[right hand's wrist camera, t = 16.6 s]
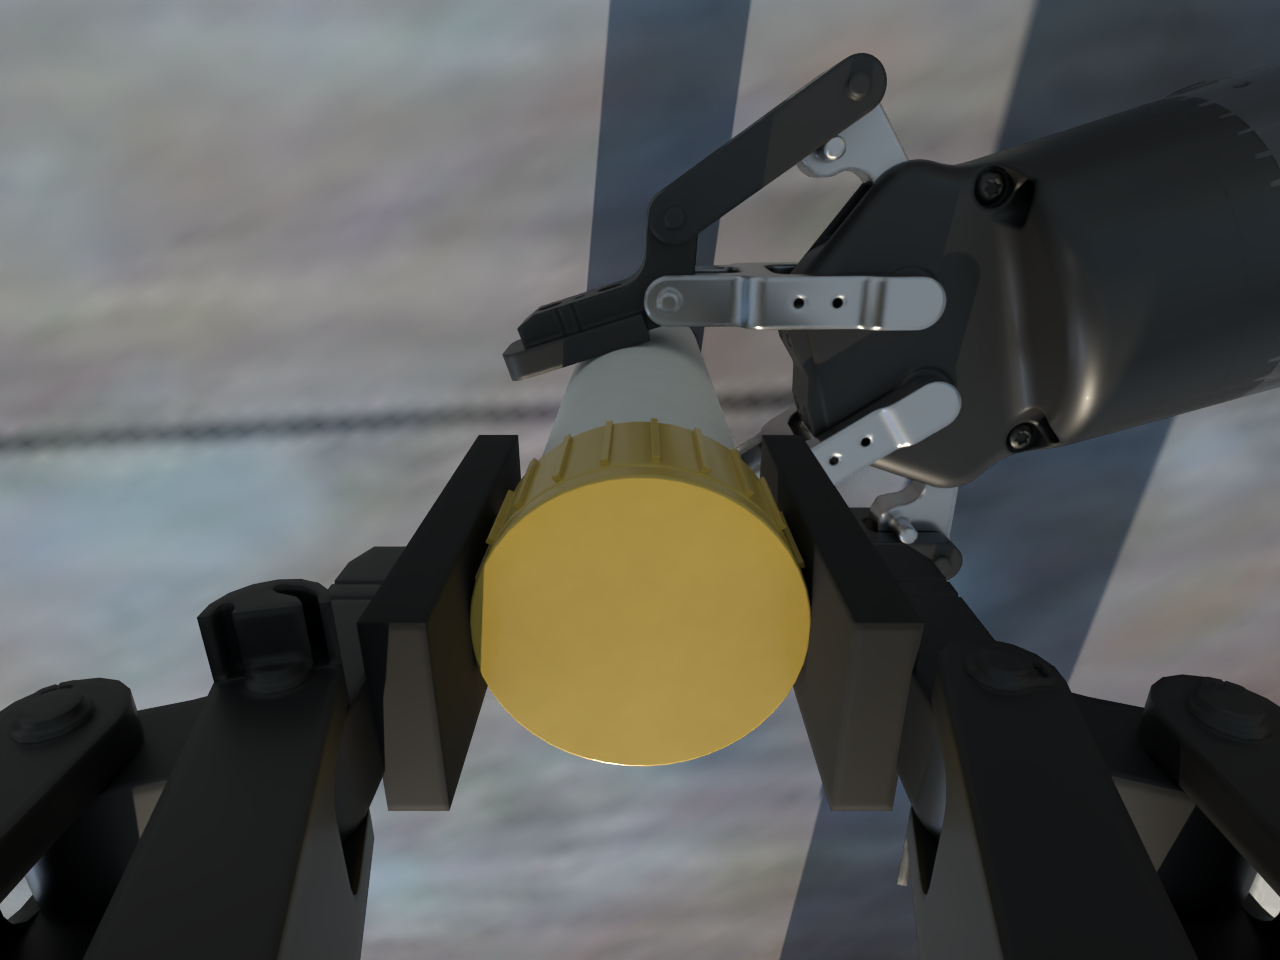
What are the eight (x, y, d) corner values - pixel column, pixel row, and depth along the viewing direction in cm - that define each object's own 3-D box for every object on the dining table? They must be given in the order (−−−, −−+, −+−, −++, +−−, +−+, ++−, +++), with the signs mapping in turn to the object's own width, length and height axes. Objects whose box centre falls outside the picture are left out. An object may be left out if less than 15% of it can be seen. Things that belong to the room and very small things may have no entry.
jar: (697, 297, 25) (781, 458, 10) (701, 414, 27) (780, 705, 12) (575, 305, 25) (480, 477, 10) (587, 421, 27) (519, 718, 12)
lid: (494, 664, 13) (464, 760, 11) (498, 402, 11) (463, 454, 9) (761, 683, 13) (785, 781, 11) (808, 428, 11) (848, 485, 9)
